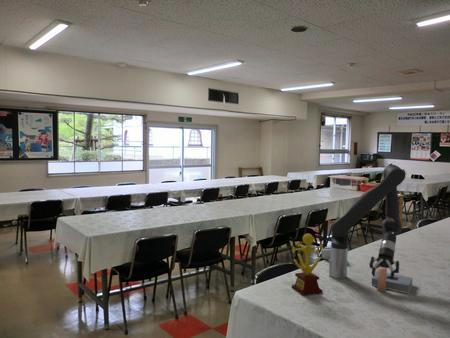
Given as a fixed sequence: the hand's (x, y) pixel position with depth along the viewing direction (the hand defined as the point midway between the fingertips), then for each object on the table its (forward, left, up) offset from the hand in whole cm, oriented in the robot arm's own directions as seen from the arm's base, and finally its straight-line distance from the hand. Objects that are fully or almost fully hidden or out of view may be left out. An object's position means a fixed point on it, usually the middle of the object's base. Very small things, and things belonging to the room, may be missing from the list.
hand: (382, 277), depth 184 cm
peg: (0, 0, -7) cm, 7 cm away
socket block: (+3, +12, -7) cm, 15 cm away
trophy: (-32, -23, -8) cm, 40 cm away
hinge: (-37, +36, -8) cm, 53 cm away
